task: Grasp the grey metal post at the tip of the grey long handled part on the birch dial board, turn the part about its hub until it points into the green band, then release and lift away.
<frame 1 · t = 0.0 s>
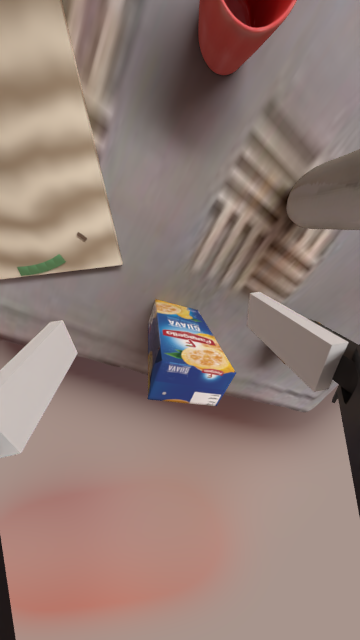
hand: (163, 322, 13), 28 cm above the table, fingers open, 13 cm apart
glass bottle: (299, 201, 37), on the table
flower pot: (223, 37, 25), on the table
beverage box: (172, 316, 44), on the table
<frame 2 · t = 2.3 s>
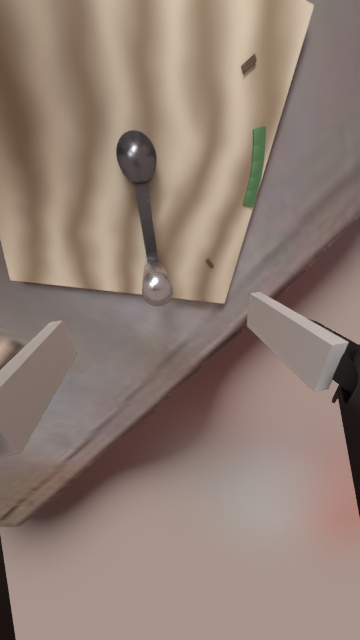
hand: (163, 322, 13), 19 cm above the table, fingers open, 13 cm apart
dial board: (138, 168, 24), on the table
grey long handled part: (146, 219, 20), point 7 cm above the table, hinge at 0.0°
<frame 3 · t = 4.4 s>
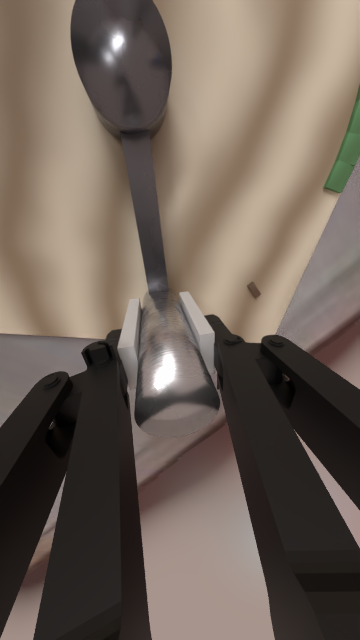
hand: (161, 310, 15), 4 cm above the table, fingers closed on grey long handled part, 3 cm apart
dial board: (131, 111, 12), on the table
grey long handled part: (147, 211, 8), point 7 cm above the table, hinge at 0.0°, touching gripper
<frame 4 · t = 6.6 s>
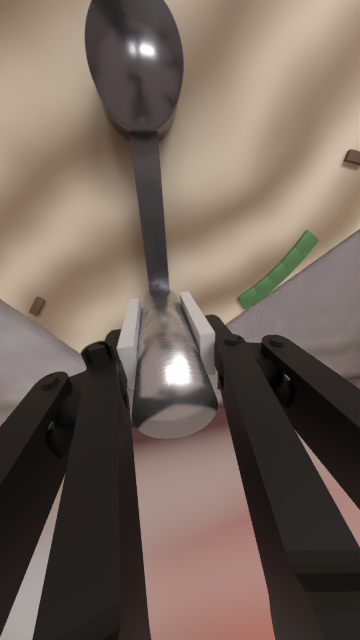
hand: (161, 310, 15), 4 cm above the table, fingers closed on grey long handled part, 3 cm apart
dial board: (140, 112, 12), on the table
grey long handled part: (153, 211, 8), point 7 cm above the table, hinge at 40.1°, touching gripper
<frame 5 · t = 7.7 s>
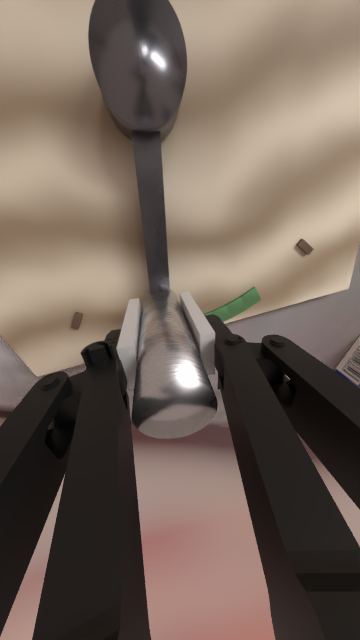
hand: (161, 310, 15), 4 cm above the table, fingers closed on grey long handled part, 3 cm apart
dial board: (143, 112, 12), on the table
grey long handled part: (154, 211, 8), point 7 cm above the table, hinge at 63.6°, touching gripper
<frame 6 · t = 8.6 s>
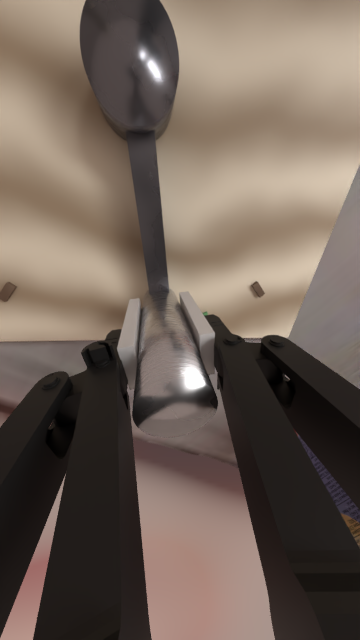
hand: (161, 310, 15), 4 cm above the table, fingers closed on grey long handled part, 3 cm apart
dial board: (137, 112, 12), on the table
grey long handled part: (150, 211, 8), point 7 cm above the table, hinge at 83.2°, touching gripper
beverage box: (298, 401, 30), on the table
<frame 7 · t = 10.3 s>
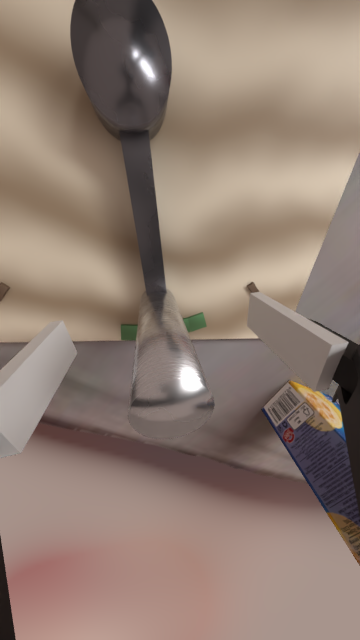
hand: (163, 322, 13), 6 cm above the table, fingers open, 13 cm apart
dial board: (131, 111, 12), on the table
grey long handled part: (145, 211, 8), point 7 cm above the table, hinge at 84.0°
beverage box: (295, 401, 30), on the table
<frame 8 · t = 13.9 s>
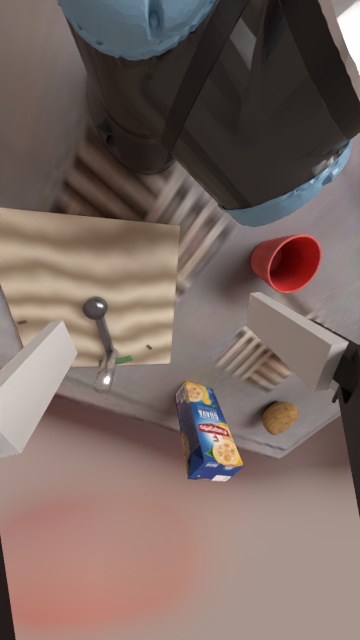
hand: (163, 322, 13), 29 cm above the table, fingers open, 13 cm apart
dial board: (99, 302, 40), on the table
grey long handled part: (99, 343, 37), point 7 cm above the table, hinge at 84.0°
flower pot: (264, 258, 42), on the table
beverage box: (193, 391, 59), on the table
potato: (272, 406, 70), on the table
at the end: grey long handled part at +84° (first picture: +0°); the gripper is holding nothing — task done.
